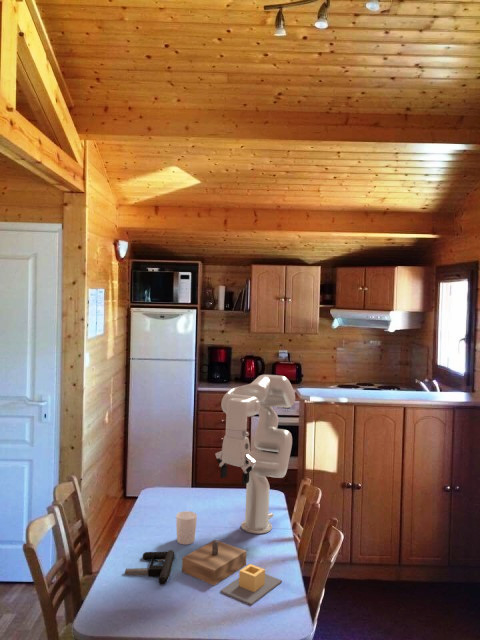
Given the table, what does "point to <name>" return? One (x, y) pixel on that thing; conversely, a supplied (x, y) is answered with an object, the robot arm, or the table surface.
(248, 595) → the mat
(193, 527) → the white cup
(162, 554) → the door handle
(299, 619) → the table surface
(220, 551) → the stand
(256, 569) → the collar
